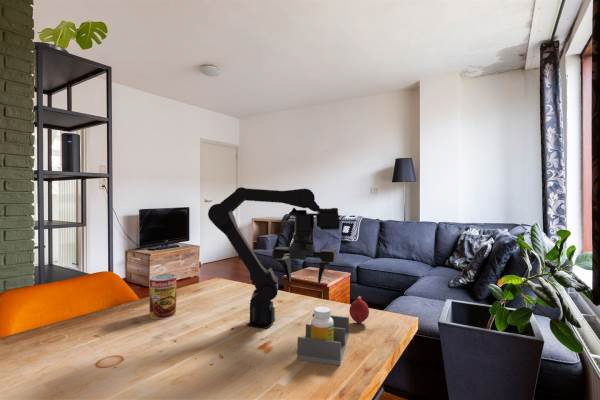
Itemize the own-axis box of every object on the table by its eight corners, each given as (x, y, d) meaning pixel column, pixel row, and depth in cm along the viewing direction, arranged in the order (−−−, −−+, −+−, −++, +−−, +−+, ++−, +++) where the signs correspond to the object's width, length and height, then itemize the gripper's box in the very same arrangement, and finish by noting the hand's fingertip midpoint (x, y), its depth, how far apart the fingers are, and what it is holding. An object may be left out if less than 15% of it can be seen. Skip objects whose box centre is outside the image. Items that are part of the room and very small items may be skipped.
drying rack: (297, 359, 73) (297, 337, 73) (313, 331, 88) (313, 313, 88) (340, 365, 70) (340, 343, 70) (348, 335, 85) (348, 317, 85)
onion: (369, 328, 90) (369, 300, 90) (348, 326, 91) (349, 299, 91) (368, 320, 96) (369, 294, 96) (349, 319, 97) (349, 293, 97)
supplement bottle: (330, 356, 72) (330, 314, 72) (308, 352, 74) (308, 311, 74) (335, 346, 77) (335, 306, 77) (314, 342, 79) (314, 304, 79)
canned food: (153, 321, 95) (153, 281, 95) (146, 313, 101) (146, 276, 101) (179, 315, 100) (179, 277, 100) (172, 308, 106) (172, 272, 106)
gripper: (265, 232, 89) (264, 287, 89) (330, 234, 84) (330, 293, 84) (278, 228, 99) (278, 277, 99) (336, 230, 94) (336, 282, 94)
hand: (304, 282), depth 94 cm, fingers open, 9 cm apart
